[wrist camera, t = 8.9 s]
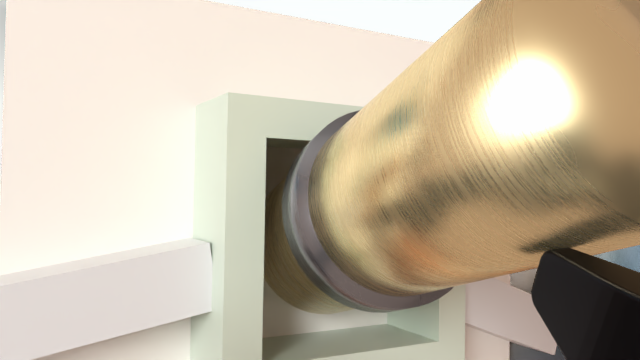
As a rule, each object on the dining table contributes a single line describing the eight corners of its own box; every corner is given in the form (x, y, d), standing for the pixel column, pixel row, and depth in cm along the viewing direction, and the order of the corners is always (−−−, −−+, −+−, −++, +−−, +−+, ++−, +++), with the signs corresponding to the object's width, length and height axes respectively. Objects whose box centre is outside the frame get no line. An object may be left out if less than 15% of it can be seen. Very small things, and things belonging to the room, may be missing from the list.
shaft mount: (509, 404, 27) (585, 436, 24) (-73, 536, 16) (-92, 634, 13) (513, 64, 27) (588, 46, 24) (-54, -36, 16) (-66, -96, 13)
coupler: (401, 317, 21) (815, 247, 9) (249, 329, 18) (542, 258, 7) (381, 167, 22) (714, -51, 11) (239, 162, 20) (466, -120, 9)
